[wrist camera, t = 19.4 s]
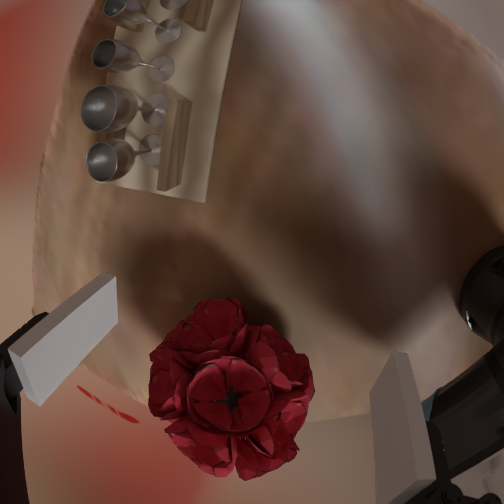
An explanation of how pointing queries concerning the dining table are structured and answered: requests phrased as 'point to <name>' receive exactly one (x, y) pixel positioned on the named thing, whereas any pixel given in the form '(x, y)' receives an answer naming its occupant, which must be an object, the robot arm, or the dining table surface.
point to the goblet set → (127, 93)
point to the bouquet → (230, 391)
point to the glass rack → (178, 95)
